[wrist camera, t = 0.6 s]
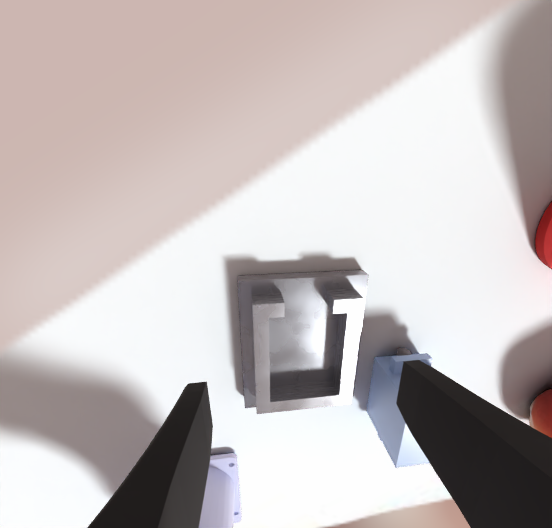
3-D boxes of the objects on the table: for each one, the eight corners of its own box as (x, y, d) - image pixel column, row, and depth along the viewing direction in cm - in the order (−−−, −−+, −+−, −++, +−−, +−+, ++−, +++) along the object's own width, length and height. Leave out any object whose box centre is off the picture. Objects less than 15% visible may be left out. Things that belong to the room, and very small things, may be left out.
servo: (404, 414, 25) (449, 483, 19) (364, 419, 24) (399, 490, 19) (420, 340, 22) (478, 396, 16) (375, 344, 21) (420, 402, 16)
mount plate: (348, 387, 23) (360, 412, 20) (244, 397, 22) (245, 425, 19) (362, 269, 19) (379, 283, 17) (237, 275, 18) (237, 291, 16)
